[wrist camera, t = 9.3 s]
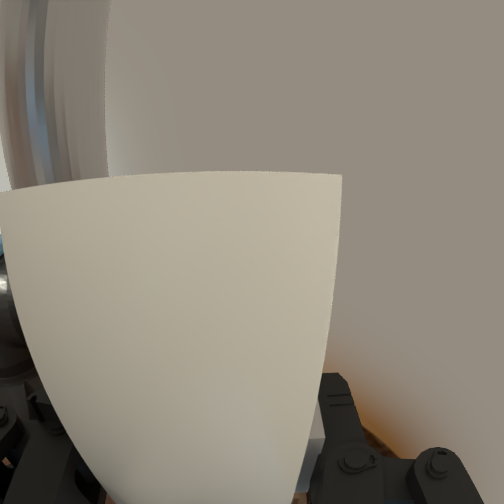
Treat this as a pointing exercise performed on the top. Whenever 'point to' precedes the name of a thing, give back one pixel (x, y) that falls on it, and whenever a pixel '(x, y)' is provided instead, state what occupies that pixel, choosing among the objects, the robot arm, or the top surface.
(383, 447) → the top surface
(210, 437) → the white rectangular block
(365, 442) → the robot arm
